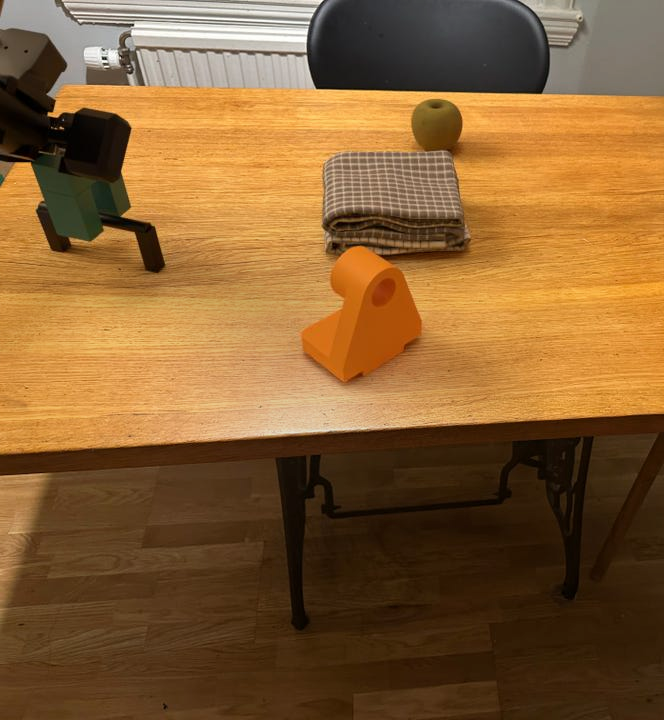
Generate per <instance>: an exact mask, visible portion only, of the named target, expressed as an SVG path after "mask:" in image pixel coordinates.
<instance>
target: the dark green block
mask: <svg viewBox="0 0 664 720" xmlns="http://www.w3.org/2000/svg"><path fill="white" fill-rule="evenodd" d="M61 151H62V150H58V152H57V154H56V155H50V154H44V155H42V156H40V157H39V158H37V160H36V161H33V162H31V163H30V166H31V169H32V172H33V174H34V176H35V180H36V182H37V184H38V188H39V189H40V193H41V196H42V198H43V201H45V204H46V206H47V209H48V212H49V214H50V217H51V219H52V222H53V225H54V227H55V230H56V233H57V235H61V236H65V237H69V239H76V240H79V241H84V242H89V243H92V241H94V240H95V239H96V238H97V237H99V236H100V235H101V234H102V233H103V232H104V231H105V228H104V226H102V223H101V219H100V216H99V213H98V212H100V213H105V214H110V215H115V216H119V217H123V216H124V215H125V213H127V212H128V211H129V210H130V209H132V205H131V201H130V198H129V194H128V191H127V187H126V184H125V180H124V177H123V173H122V172H121V175H120V179H119V180H117V181H116V182H114V183H113V184H112V183H107V182H102V181H97V180H92V179H88V178H85V177H77V176H72V175H67V174H62V173H58V168H59V164H60V160H61V155H60V152H61Z"/></svg>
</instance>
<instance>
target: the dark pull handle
mask: <svg viewBox="0 0 664 720" xmlns="http://www.w3.org/2000/svg"><path fill="white" fill-rule="evenodd" d="M35 213H36V216H37V218H38V220H39V224H40V225H41V228H42V230H43V233H44V236H45V238H46V240H47V243H48V245H49V248H50V250H51V251H56V252H60V253H64V252H66V251H67V250H68V249H69V248H71V246H72V243H71V238H70V237H65V236H61V235H57V233H56V230H55V227H54V225H53V222H52V219H51V217H50V214H49V212H48V209H47V206H46V204H45V201H44V200H40V201H39V202H38V204H37V208H36V209H35ZM98 213H99V216H100V219H101V223H102V226H103V227H107V228H111V229H115V230H120V231H125V232H131V233H134V235H135V238H136V242H137V245H138V250H139V252H140V256H141V259H142V262H143V263H142V264H143V266H144V270H145V271H148V272H153V273H157V274H158V273H159V272H160V271H161V270H163V269H164V267H165V266H166V262H165V259H164V255H163V251H162V247H161V244H160V240H159V239H160V238H159V237H158V232H157V229H156V225H152V223H151V222H148V221H142V220H138V219H134V218H129V217H124V216H121V217H119V216H115V215H110V214H105V213H100V212H98Z"/></svg>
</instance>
